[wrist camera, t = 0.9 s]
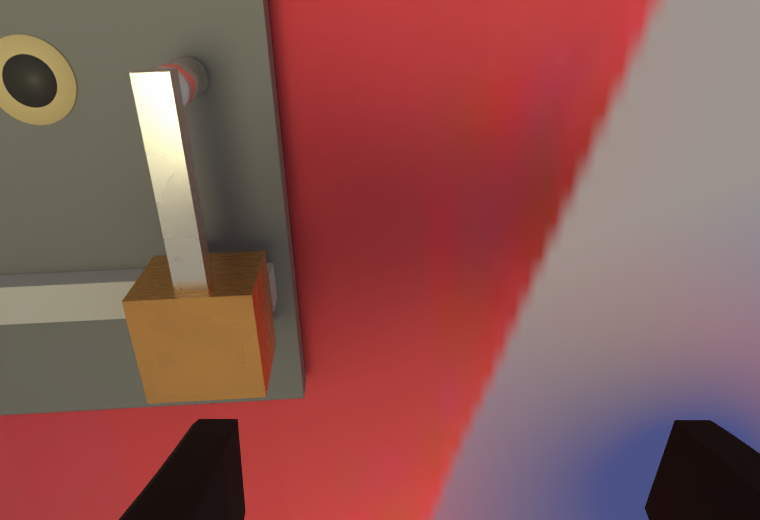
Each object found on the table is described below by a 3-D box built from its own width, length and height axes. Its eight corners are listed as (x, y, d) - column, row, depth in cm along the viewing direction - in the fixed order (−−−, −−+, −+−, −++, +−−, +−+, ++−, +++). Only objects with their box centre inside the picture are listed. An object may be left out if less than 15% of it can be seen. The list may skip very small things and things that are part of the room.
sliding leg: (179, 335, 17) (147, 403, 15) (122, 58, 14) (64, 77, 11) (278, 329, 18) (265, 397, 15) (246, 54, 14) (221, 72, 11)
